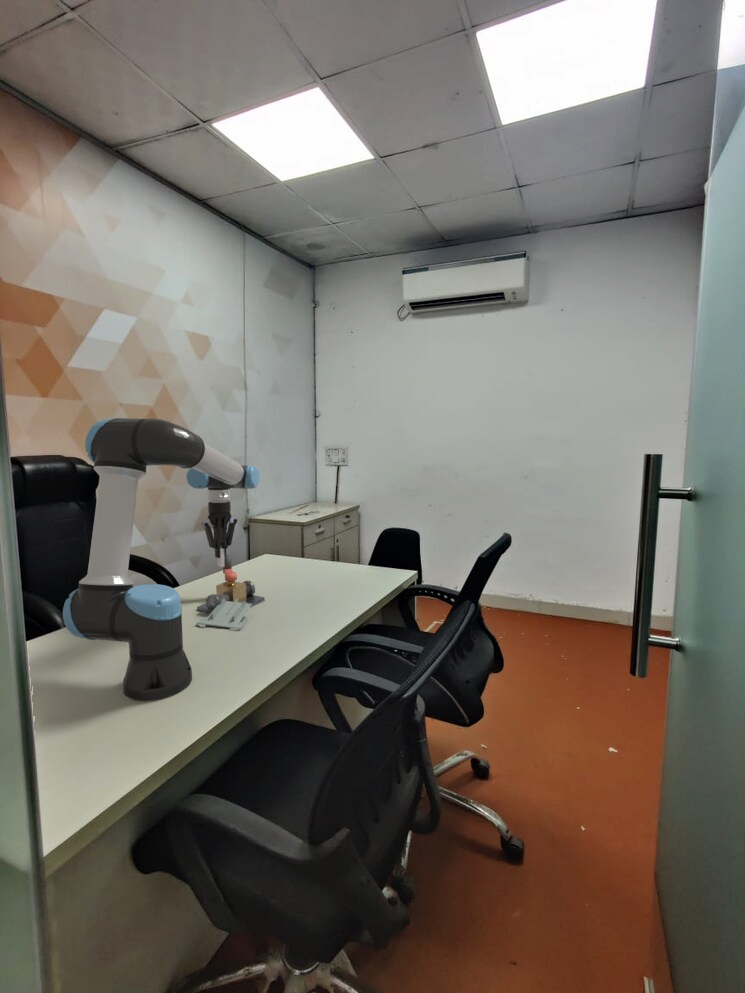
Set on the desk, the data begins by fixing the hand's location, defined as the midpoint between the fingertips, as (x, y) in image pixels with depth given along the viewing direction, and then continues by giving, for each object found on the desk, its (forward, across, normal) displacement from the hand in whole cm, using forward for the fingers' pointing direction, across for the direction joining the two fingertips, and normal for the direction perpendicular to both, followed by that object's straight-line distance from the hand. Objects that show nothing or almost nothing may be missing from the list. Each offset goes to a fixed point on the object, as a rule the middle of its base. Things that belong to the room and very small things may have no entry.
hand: (221, 566), depth 173 cm
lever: (+3, 0, -5) cm, 6 cm away
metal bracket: (+12, -9, -20) cm, 25 cm away
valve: (+12, -1, -9) cm, 15 cm away
